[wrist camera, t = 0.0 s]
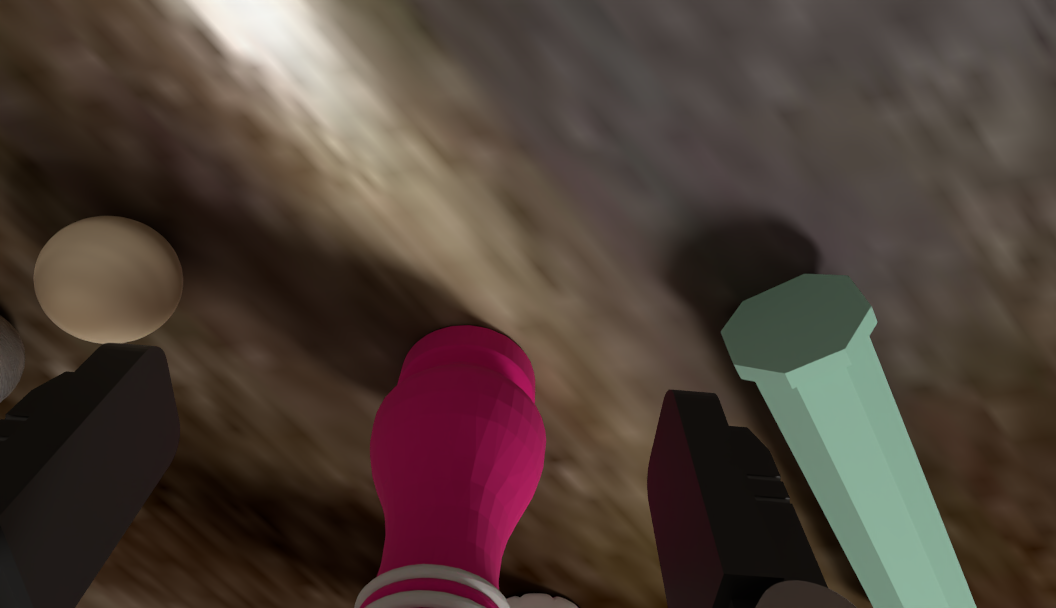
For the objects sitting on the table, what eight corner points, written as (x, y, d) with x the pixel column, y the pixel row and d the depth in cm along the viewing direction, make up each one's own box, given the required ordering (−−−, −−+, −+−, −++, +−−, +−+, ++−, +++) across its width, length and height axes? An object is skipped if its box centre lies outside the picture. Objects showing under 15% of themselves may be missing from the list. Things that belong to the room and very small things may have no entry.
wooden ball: (67, 190, 28) (-18, 246, 24) (193, 201, 28) (131, 259, 24) (97, 296, 31) (24, 364, 26) (211, 305, 31) (158, 375, 26)
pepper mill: (370, 328, 31) (164, 871, 14) (528, 301, 30) (510, 846, 13) (416, 445, 35) (297, 988, 18) (558, 425, 34) (575, 975, 17)
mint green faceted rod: (1007, 700, 35) (871, 362, 24) (881, 685, 39) (709, 383, 27) (994, 592, 39) (871, 257, 28) (880, 586, 43) (730, 287, 31)
